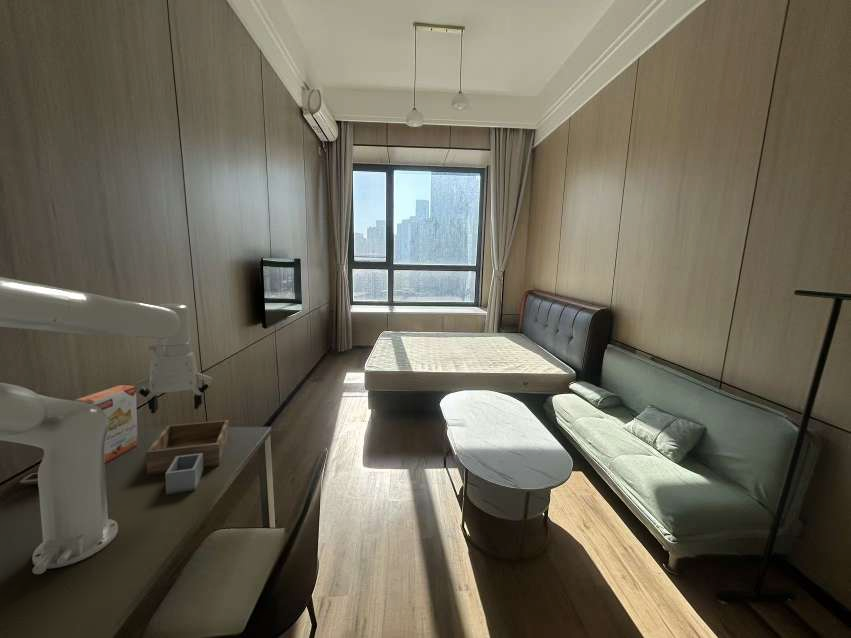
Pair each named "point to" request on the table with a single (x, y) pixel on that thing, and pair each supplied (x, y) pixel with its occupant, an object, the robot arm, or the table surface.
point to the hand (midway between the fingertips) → (176, 409)
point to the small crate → (184, 473)
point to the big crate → (188, 444)
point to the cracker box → (117, 418)
